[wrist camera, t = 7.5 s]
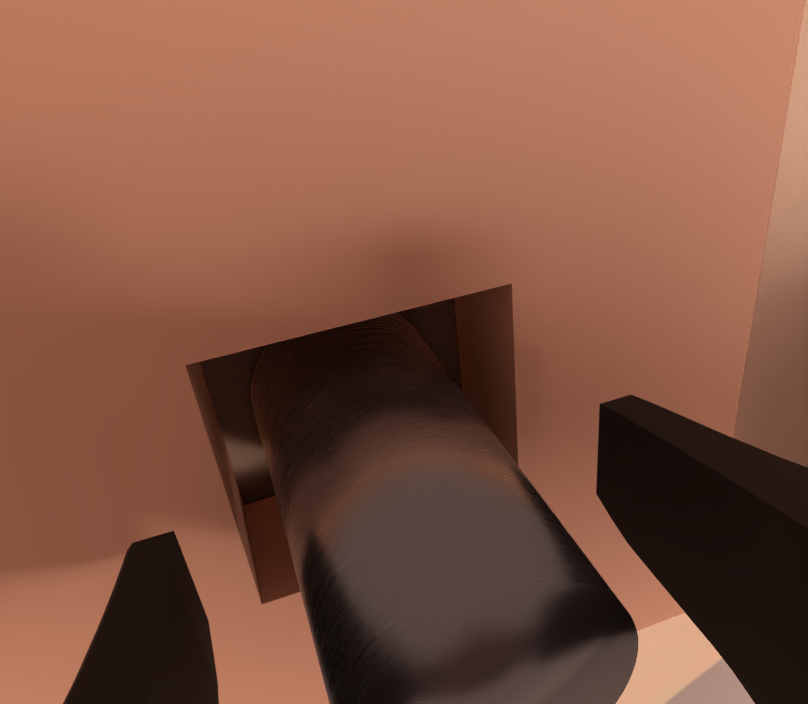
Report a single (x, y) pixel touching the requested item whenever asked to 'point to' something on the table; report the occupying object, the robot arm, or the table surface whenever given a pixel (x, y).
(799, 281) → the table surface
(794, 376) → the table surface
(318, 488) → the hitch peg
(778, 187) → the table surface
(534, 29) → the brown square hole board
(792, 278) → the table surface
